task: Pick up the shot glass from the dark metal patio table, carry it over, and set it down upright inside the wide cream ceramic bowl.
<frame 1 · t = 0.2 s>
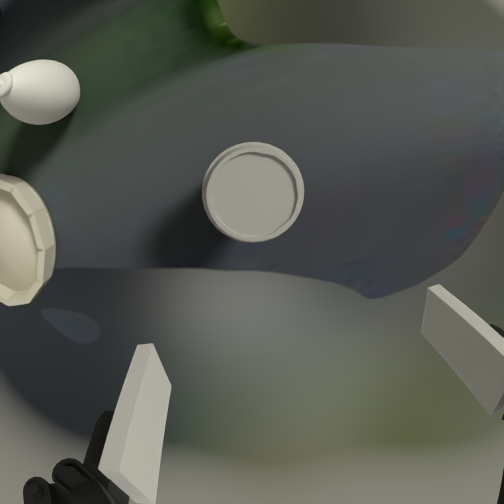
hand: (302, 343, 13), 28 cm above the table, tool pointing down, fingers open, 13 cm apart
sauce bottle: (69, 98, 31), on the table
cream bowl: (10, 237, 36), on the table
disposable coffee cup: (246, 180, 38), on the table
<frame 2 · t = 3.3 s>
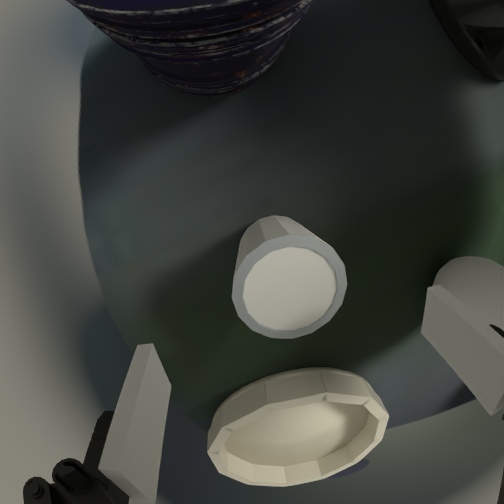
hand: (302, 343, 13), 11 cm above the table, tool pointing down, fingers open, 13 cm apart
sauce bottle: (442, 275, 26), on the table
shot glass: (274, 249, 24), on the table
storage jar: (213, 39, 18), on the table
cream bowl: (296, 426, 32), on the table
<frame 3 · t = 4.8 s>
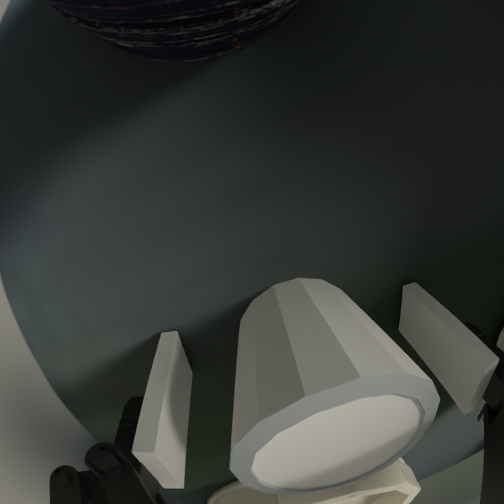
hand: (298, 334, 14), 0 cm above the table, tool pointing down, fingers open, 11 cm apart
shot glass: (297, 329, 14), on the table
cream bowl: (309, 500, 22), on the table
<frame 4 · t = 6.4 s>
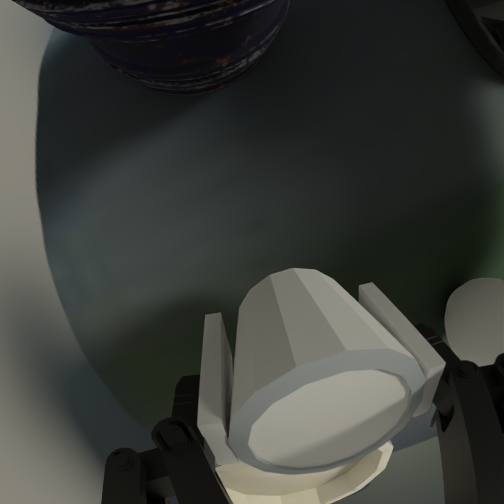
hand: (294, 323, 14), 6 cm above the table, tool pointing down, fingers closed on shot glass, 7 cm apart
sauce bottle: (454, 298, 23), on the table
shot glass: (292, 317, 15), point 5 cm above the table, touching gripper
storage jar: (191, 26, 14), on the table
cream bowl: (292, 458, 28), on the table
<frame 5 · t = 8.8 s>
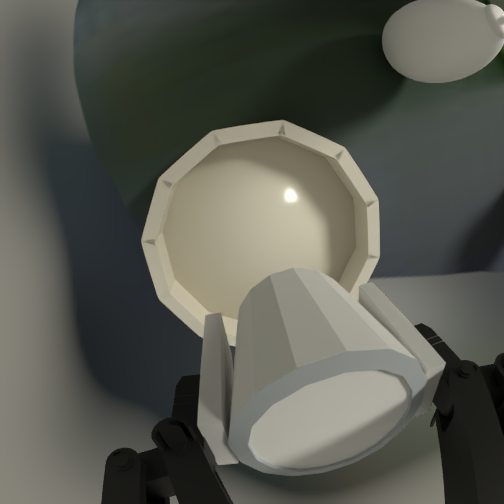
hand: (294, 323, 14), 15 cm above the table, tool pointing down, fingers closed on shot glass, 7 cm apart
sauce bottle: (396, 55, 23), on the table
shot glass: (292, 317, 15), point 15 cm above the table, touching gripper
cream bowl: (262, 235, 29), on the table
when the fingers open (2 cm above the table, at t = 11.4 s): shot glass drops 1 cm, resting on cream bowl.
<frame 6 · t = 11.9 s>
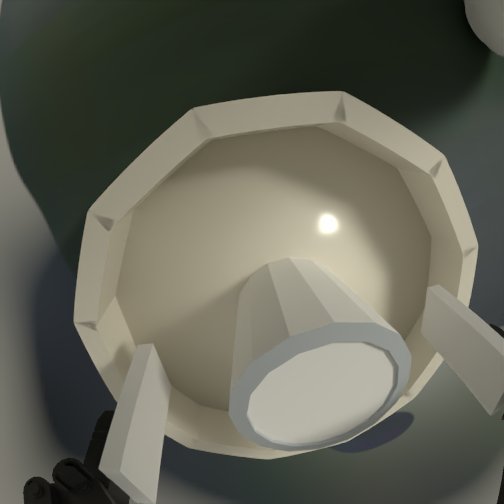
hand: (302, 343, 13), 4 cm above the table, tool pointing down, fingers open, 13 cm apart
sauce bottle: (475, 25, 11), on the table
shot glass: (289, 304, 16), point 1 cm above the table, touching cream bowl
cream bowl: (285, 298, 17), on the table
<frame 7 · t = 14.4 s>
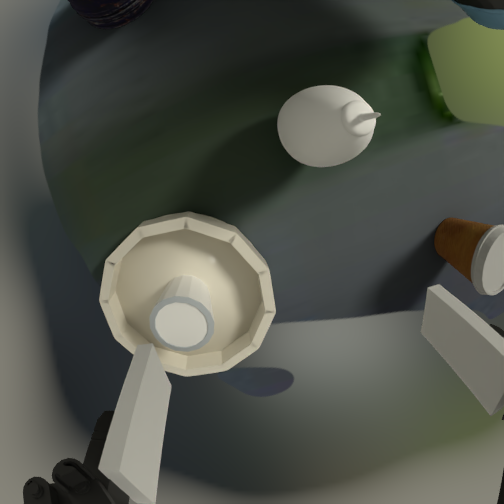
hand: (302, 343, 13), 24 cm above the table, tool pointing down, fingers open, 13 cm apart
sauce bottle: (301, 131, 33), on the table
shot glass: (187, 295, 36), point 1 cm above the table, touching cream bowl
cream bowl: (187, 292, 37), on the table
disposable coffee cup: (447, 236, 39), on the table
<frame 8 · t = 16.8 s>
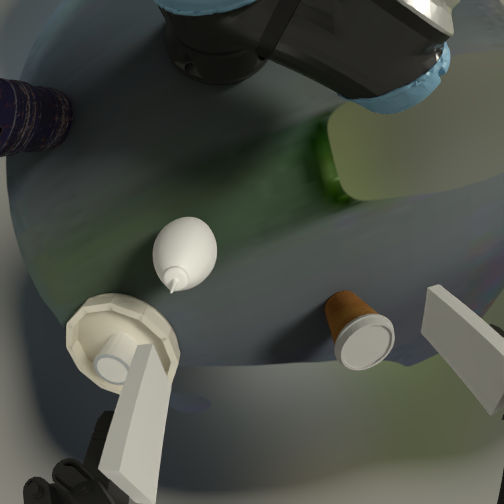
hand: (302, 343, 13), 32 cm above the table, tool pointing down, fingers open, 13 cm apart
sauce bottle: (191, 234, 44), on the table
shot glass: (123, 344, 48), point 1 cm above the table, touching cream bowl
storage jar: (50, 120, 35), on the table
cream bowl: (124, 342, 49), on the table
disposable coffee cup: (341, 306, 50), on the table
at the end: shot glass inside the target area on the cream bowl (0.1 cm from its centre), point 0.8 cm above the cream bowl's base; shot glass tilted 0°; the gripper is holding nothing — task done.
